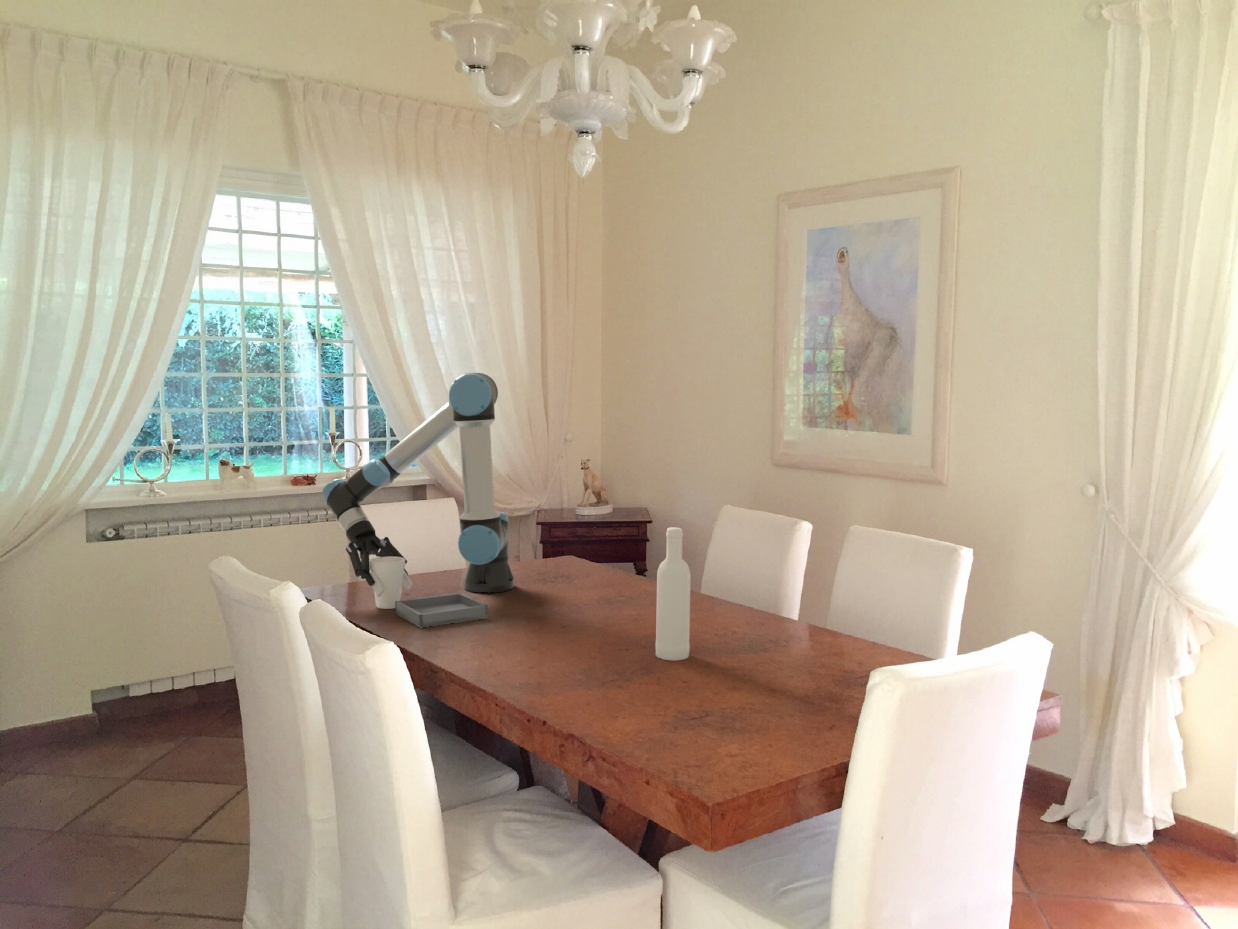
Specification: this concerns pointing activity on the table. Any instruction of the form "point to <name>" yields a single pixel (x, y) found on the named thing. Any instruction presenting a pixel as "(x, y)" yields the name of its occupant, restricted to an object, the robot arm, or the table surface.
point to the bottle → (673, 601)
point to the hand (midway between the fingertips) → (395, 590)
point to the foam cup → (388, 579)
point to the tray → (441, 610)
